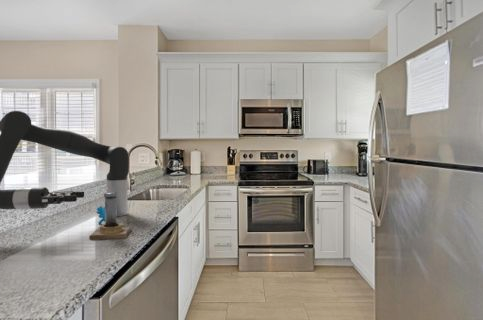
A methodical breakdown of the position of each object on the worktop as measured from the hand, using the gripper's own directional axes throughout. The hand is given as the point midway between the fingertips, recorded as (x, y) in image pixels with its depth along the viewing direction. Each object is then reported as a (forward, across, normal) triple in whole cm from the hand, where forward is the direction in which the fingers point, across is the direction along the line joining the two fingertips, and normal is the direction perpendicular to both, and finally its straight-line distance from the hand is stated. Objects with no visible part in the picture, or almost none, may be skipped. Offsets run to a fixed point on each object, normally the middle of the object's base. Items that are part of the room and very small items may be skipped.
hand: (80, 196), depth 115 cm
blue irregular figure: (+5, +18, +15) cm, 24 cm away
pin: (+10, -1, +13) cm, 17 cm away
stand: (+10, -1, +15) cm, 18 cm away
